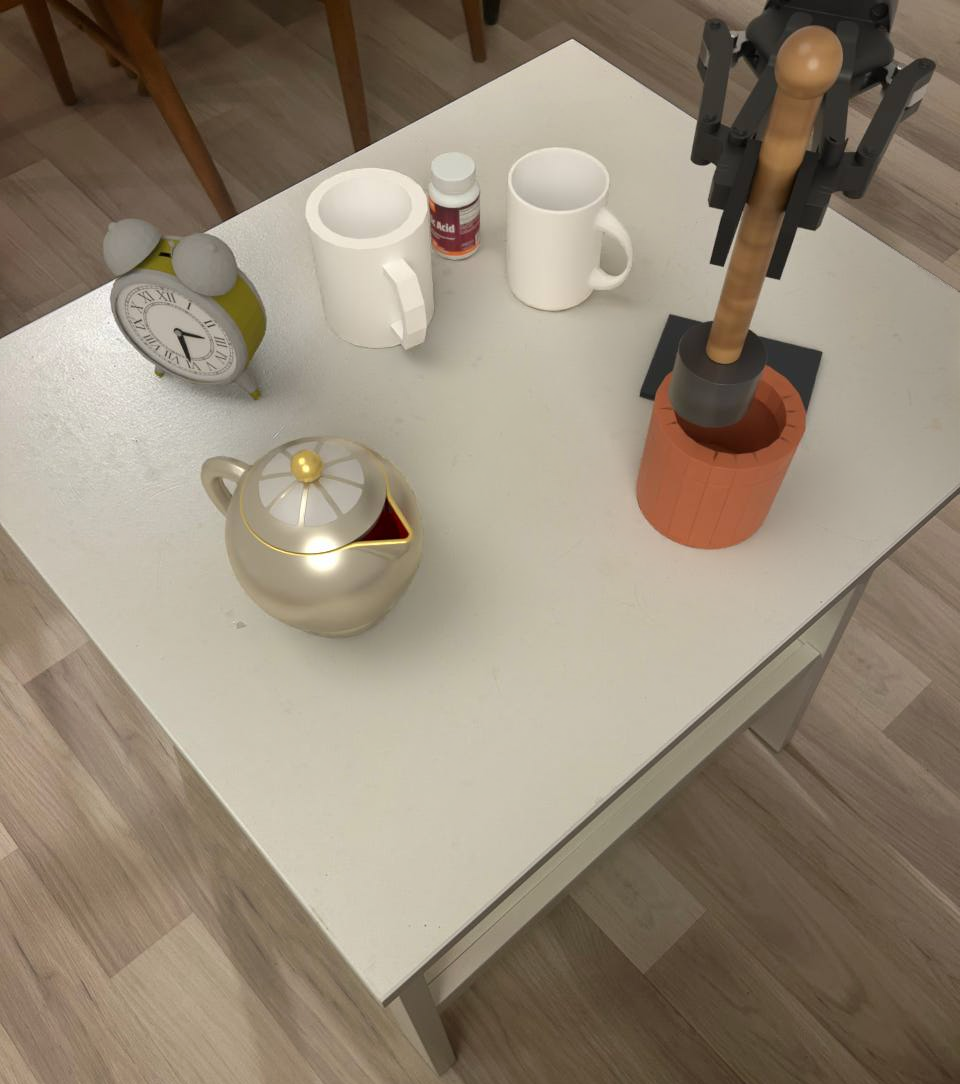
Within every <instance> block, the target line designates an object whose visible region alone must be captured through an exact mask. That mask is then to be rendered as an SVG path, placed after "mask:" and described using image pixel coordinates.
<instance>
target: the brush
mask: <svg viewBox="0 0 960 1084" xmlns="http://www.w3.org/2000/svg"><path fill="white" fill-rule="evenodd" d="M842 62H843V51H842V46H841V43H840V41H839V39H838V37H837V36H836V35H835V34H834V33H833V32H832V31H831V30H829V29H828V28H825V27H823V26H817V25H812V26H807V27H803V28H801V29H799V30H797V31H796V32H794V33H793V34H792V35H790V36H789V37H788V38H787V39H786V41H785V42H784V43H783V45H782V46H781V48H780V50H779V52H778V54H777V57H776V62H775V78H776V82H777V84H778V86H777V90H776V94H775V97H774V101H773V105H772V108H771V112H770V116H769V119H768V123H767V127H766V130H765V134H764V136H763V138H762V140H761V141H762V145H761V148H760V152H759V157H758V161H757V165H756V168H755V172H754V175H753V179H752V183H751V186H750V190H749V194H748V197H747V201H746V204H745V207H744V210H743V213H742V216H741V219H740V221H739V224H738V228H737V232H736V236H735V239H734V243H733V247H732V251H731V255H730V258H729V262H728V264H727V265H728V266H727V270H726V273H725V277H724V281H723V284H722V287H721V292H720V296H719V298H718V302H717V306H716V309H715V312H714V316H713V320H708V321H702V322H703V323H700V324H698V325H695V326H694V327H692V328H690V329H689V330H688V331H687V332H686V333H685V334H684V335H683V337H682V338H681V340H680V343H679V347H678V351H677V356H676V360H675V364H674V368H673V372H672V377H671V381H670V385H669V390H668V396H669V400H670V403H671V405H672V407H673V408H674V410H675V411H676V412H677V413H678V414H679V415H680V416H681V417H682V418H684V419H685V420H687V421H689V422H691V423H693V424H696V425H699V426H703V427H710V428H719V427H726V426H729V425H732V424H734V423H737V422H738V421H740V420H741V419H742V418H744V417H745V416H746V414H747V413H748V412H749V410H750V407H751V405H752V402H753V399H754V396H755V394H756V391H757V388H758V385H759V382H760V380H761V377H762V374H763V371H764V369H765V366H766V363H767V350H766V347H765V345H764V343H763V342H762V340H761V339H760V338H759V337H758V336H759V335H758V334H757V333H755V331H753V330H751V329H750V326H751V324H752V320H753V317H754V315H755V314H754V313H755V310H756V308H757V305H758V301H759V298H760V295H761V292H762V288H763V285H764V283H765V279H766V277H765V276H766V273H767V270H768V267H769V263H770V260H771V257H772V254H773V251H774V247H775V244H776V241H777V238H778V235H779V231H780V228H781V225H782V222H783V219H784V215H785V212H786V209H787V206H788V203H789V200H790V197H791V193H792V190H793V187H794V184H795V181H796V178H797V175H798V172H799V168H800V165H801V163H802V161H803V158H804V155H805V152H806V150H807V149H808V144H809V142H810V139H811V136H812V134H813V130H814V124H815V120H816V117H817V114H818V111H819V108H820V105H821V102H822V99H823V95H824V93H826V92H827V91H828V90H829V89H830V88H831V87H832V86H833V84H834V83H835V81H836V80H837V78H838V76H839V73H840V71H841V68H842Z"/></svg>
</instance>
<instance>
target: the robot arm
mask: <svg viewBox="0 0 960 1084" xmlns="http://www.w3.org/2000/svg"><path fill="white" fill-rule="evenodd" d="M899 1H900V0H766V2H765V4H764V6H763V9H762V12H761V14H759V15H758V16H756V17H755V18H753V19H751V20H750V21H749V23H747V26H746V28H745V29H744V30H729V28H728V27H729V26H727V24H726V23H727V22H726V21H725V20H723V19H721V18H717V17H714V18H713V17H712V18H708V19H706V21H705V22H704V26H703V31H702V37H701V42H700V47H699V51H698V57H697V61H696V62H697V63H696V69H697V71H698V74H699V76H700V79H701V81H702V84H703V86H702V91H701V98H700V101H699V102H700V103H699V108H698V113H697V120H696V125H695V130H694V135H693V142H692V147H691V151H690V161H691V163H692V164H694V165H696V166H700V167H705V166H708V165H710V164H712V165H714V166H715V170H714V172H713V175H712V179H711V183H710V187H709V191H708V196H707V205H708V208H712V209H717V210H721V211H722V214H721V216H720V219H719V223H718V226H717V227H718V228H717V232H716V236H715V239H714V243H713V247H712V252H711V255H710V259H709V265H713V266H717V267H721V268H724V267H725V266H726V262H727V260H728V256H729V253H730V250H731V248H732V245H733V242H734V240H735V239H734V238H735V237H736V236H735V235H736V234H737V231H738V228H739V225H740V222H741V218H742V214H743V211H744V207H745V204H746V201H747V197H748V194H749V190H750V186H751V183H752V179H753V175H754V172H755V168H756V165H757V161H758V157H759V152H760V148H761V145H762V141H763V138H764V134H765V130H766V127H767V123H768V119H769V116H770V112H771V108H772V105H773V101H774V97H775V94H776V90H777V86H778V84H777V82H776V78H775V62H776V57H777V54H778V52H779V50H780V48H781V46H782V45H783V43H784V42H785V41H786V39H787V38H788V37H789V36H790V35H792V34H793V33H794V32H796V31H797V30H799V29H801V28H803V27H807V26H812V25H817V26H823V27H825V28H828V29H829V30H831V31H832V32H833V33H834V34H835V35H836V36H837V37H838V39H839V41H840V43H841V46H842V51H843V62H842V68H841V71H840V73H839V76H838V78H837V80H836V81H835V83H834V84H833V86H832V87H831V88H830V89H829V90H828V91H827V92H826V93H824V95H823V99H822V102H821V105H820V108H819V111H818V114H817V117H816V120H815V124H814V127H813V130H812V140H811V147H810V150H807V149H806V152H805V155H804V158H803V161H802V163H801V165H800V168H799V172H798V175H797V178H796V181H795V184H794V187H793V190H792V193H791V197H790V200H789V203H788V206H787V209H786V212H785V215H784V219H783V222H782V225H781V228H780V231H779V235H778V238H777V241H776V244H775V247H774V251H773V254H772V257H771V260H770V263H769V267H768V270H767V273H766V276H765V278H768V279H773V280H778V281H781V278H782V276H783V272H784V270H785V267H786V264H787V262H788V259H789V255H790V252H791V249H792V246H793V244H794V240H795V238H796V234H797V231H798V229H804V230H808V231H813V232H816V231H817V230H818V229H819V228H820V227H821V226H822V223H823V221H824V218H825V215H826V212H827V209H828V207H829V204H830V201H831V198H832V194H834V193H837V192H841V194H842V195H843V196H844V197H845V198H848V199H850V200H860V199H862V198H863V197H865V196H866V195H865V194H866V192H867V190H868V188H869V187H870V184H871V182H872V180H873V178H874V176H875V174H876V172H877V170H878V167H879V166H880V165H881V162H882V160H883V158H884V156H885V154H886V152H887V149H888V148H889V146H890V144H891V142H892V140H893V138H894V136H895V134H896V132H897V129H898V127H899V125H900V124H902V123H903V122H904V121H906V120H907V119H908V118H909V117H911V116H912V115H914V114H915V113H916V112H917V111H919V108H920V106H921V103H922V101H923V99H924V96H925V94H926V92H927V89H928V86H929V85H930V82H931V80H932V78H933V75H934V73H935V70H936V68H937V64H936V62H935V61H934V60H932V59H930V58H928V57H927V58H926V57H918V58H916V59H914V60H913V61H911V62H910V63H909V64H906V63H904V62H900V61H898V60H897V59H894V58H895V46H894V43H893V42H892V41H891V39H890V36H891V32H892V28H893V25H894V21H895V18H896V13H897V11H898V6H899ZM740 58H742V59H743V61H744V62H745V64H746V65H747V66H748V68H749V69H750V71H751V72H752V74H753V75H754V76H755V78H756V79H757V81H756V83H755V85H754V87H753V89H752V90H751V92H750V93H749V95H748V97H747V99H746V100H745V102H744V104H743V106H742V107H741V109H740V111H739V112H738V114H737V116H736V118H735V119H734V121H733V122H732V124H731V126H728V125H726V124H724V123H722V120H723V119H722V118H723V115H724V114H723V112H724V107H725V101H726V95H727V89H728V83H729V82H728V81H729V77H730V74H731V70H732V69H734V68H736V67H737V66H738V63H739V60H740ZM878 86H881V89H880V92H879V96H880V98H881V99H882V100H881V101H880V103H879V105H878V107H877V109H876V110H875V113H874V114H873V117H872V118H871V120H870V122H869V125H868V127H867V128H866V129H865V132H864V134H863V136H862V138H861V140H860V142H859V144H858V146H857V148H856V151H846V148H847V145H848V142H849V139H850V138H849V137H846V135H847V123H848V114H849V113H848V112H849V103H850V100H851V99H853V98H855V97H857V96H859V95H861V94H863V93H866V92H868V91H870V90H872V89H874V88H876V87H878Z"/></svg>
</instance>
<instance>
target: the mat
mask: <svg viewBox="0 0 960 1084" xmlns="http://www.w3.org/2000/svg"><path fill="white" fill-rule="evenodd" d="M703 322H704V321H700V320H696V319H692V318H687V317H684V316H679V315H676V314H672V313H669V315H668V317H667V320H666V322H665V324H664V328H663V329H662V333H661V335H660V338H659V341H658V343H657V346H656V349H655V351H654V353H653V357H652V358H651V362H650V364H649V367H648V370H647V372H646V375H645V377H644V381H643V383H642V386H641V388H640V390H639V397H641V398H644V399H648V400H651V401H655V396H656V392H657V390H658V388H659V387H660V385H661V383H662V382H663V380H664V379H665V377H666V376H667V375H668V374H669V373H670V372H672V371H673V368H674V364H675V360H676V356H677V351H678V347H679V343H680V340H681V338H682V337H683V335H684V334H685V333H686V332H687V331H688V330H689V329H690V328H692V327H694V326H695V325H698V324H700V323H703ZM758 337H759V338H760V339H761V340H762V342H763V343H764V345H765V347H766V350H767V363H766V365H767V366H769V367H771V368H772V369H774V370H775V371H776V372H778V373H779V374H781V375H782V376H784V377H785V378H786V379H787V380H788V381H789V382H790V383H791V384H792V386H793V387H794V388H795V389H796V390H797V392H798V393H799V395H800V397H801V400H802V403H803V405H804V408H805V411H806V415H807V414H808V410H809V407H810V402H811V398H812V394H813V391H814V388H815V383H816V379H817V375H818V372H819V368H820V365H821V360H822V358H823V353H824V352H823V351H821V350H817V349H813V348H809V347H805V346H801V345H797V344H793V343H789V342H785V341H781V340H777V339H774V338H769V337H765V336H761V335H758Z"/></svg>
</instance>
